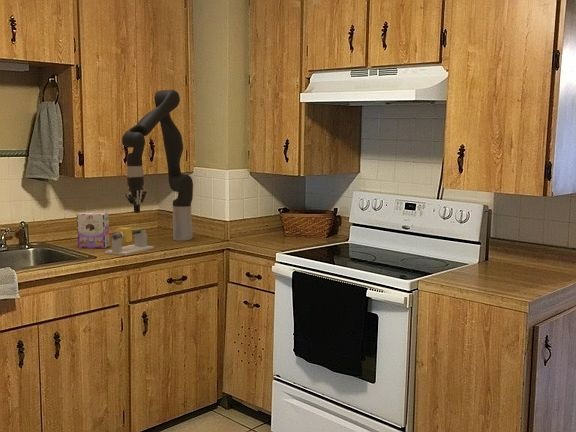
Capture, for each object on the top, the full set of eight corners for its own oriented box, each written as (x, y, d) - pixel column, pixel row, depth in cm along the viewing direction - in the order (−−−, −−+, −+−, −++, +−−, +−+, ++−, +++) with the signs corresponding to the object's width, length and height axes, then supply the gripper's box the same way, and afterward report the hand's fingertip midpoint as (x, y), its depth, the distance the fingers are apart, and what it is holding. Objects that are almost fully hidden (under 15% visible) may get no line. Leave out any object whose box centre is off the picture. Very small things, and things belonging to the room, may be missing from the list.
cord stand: (133, 246, 332) (133, 226, 330) (153, 248, 326) (153, 228, 325) (105, 253, 314) (104, 232, 313) (125, 255, 308) (125, 234, 307)
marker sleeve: (123, 240, 319) (123, 227, 319) (132, 240, 317) (131, 228, 316) (117, 241, 316) (117, 228, 315) (126, 242, 313) (126, 229, 313)
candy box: (110, 246, 330) (109, 212, 328) (104, 248, 324) (103, 214, 322) (83, 245, 333) (82, 211, 331) (77, 247, 327) (76, 213, 325)
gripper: (137, 174, 327) (139, 210, 330) (119, 176, 316) (121, 214, 318) (150, 174, 324) (152, 211, 327) (132, 177, 312) (134, 215, 315)
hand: (137, 212), depth 322 cm, fingers closed
